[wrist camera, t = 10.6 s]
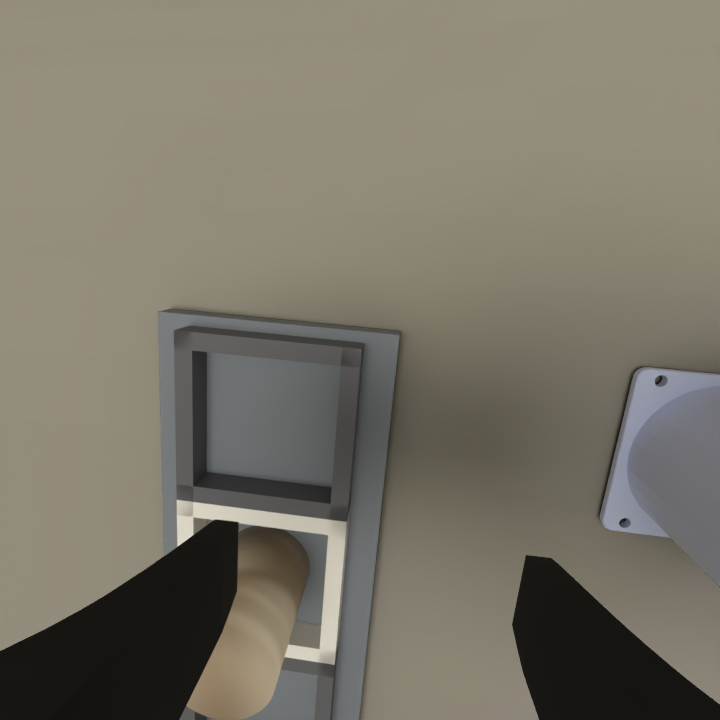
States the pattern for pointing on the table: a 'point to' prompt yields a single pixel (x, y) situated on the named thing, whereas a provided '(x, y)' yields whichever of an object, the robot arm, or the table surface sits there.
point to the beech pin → (254, 626)
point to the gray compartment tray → (285, 472)
